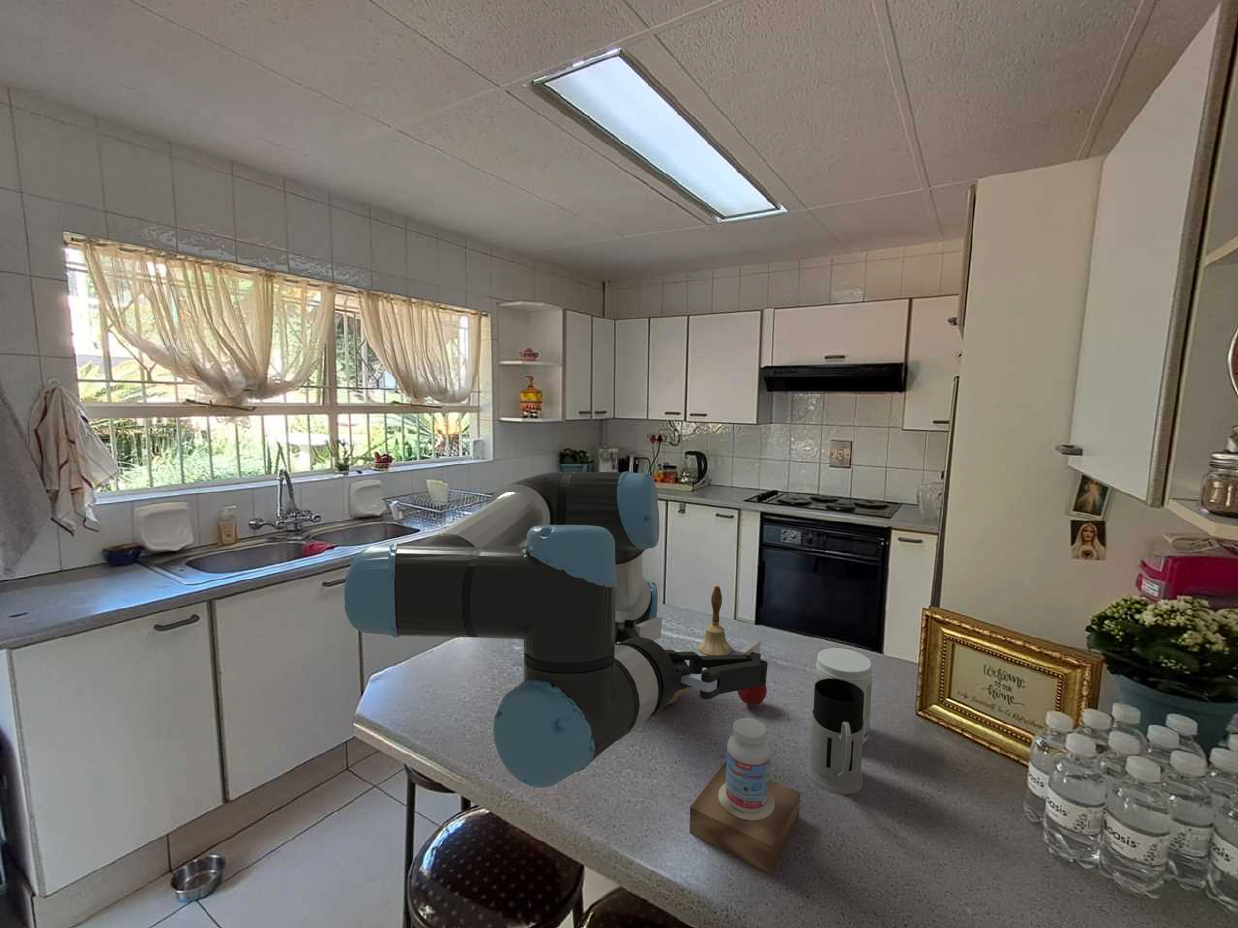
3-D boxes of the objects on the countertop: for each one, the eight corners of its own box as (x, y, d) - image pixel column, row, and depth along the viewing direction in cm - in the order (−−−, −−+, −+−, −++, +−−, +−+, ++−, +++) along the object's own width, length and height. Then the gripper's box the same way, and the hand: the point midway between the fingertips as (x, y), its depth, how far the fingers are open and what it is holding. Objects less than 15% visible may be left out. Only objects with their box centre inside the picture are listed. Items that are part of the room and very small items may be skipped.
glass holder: (857, 762, 94) (862, 679, 92) (876, 824, 80) (882, 729, 78) (804, 754, 96) (807, 673, 94) (813, 814, 82) (818, 721, 80)
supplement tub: (839, 713, 108) (843, 642, 106) (880, 740, 100) (885, 664, 98) (802, 726, 104) (805, 653, 102) (842, 755, 96) (846, 676, 94)
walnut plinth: (689, 832, 79) (690, 805, 78) (724, 784, 88) (725, 760, 88) (771, 873, 72) (772, 844, 71) (799, 816, 82) (800, 791, 81)
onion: (766, 715, 107) (768, 677, 106) (736, 712, 109) (738, 674, 108) (765, 699, 113) (766, 663, 112) (736, 696, 114) (737, 660, 113)
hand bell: (707, 638, 142) (708, 579, 140) (737, 647, 137) (739, 585, 135) (692, 650, 135) (693, 588, 133) (723, 660, 130) (724, 595, 128)
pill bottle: (721, 807, 78) (723, 733, 76) (729, 779, 83) (731, 710, 82) (765, 819, 76) (768, 744, 74) (770, 790, 81) (773, 719, 80)
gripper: (524, 687, 60) (621, 644, 78) (748, 766, 47) (801, 693, 65) (530, 618, 60) (625, 591, 78) (755, 678, 47) (806, 630, 66)
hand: (705, 638), depth 72 cm, fingers open, 13 cm apart
